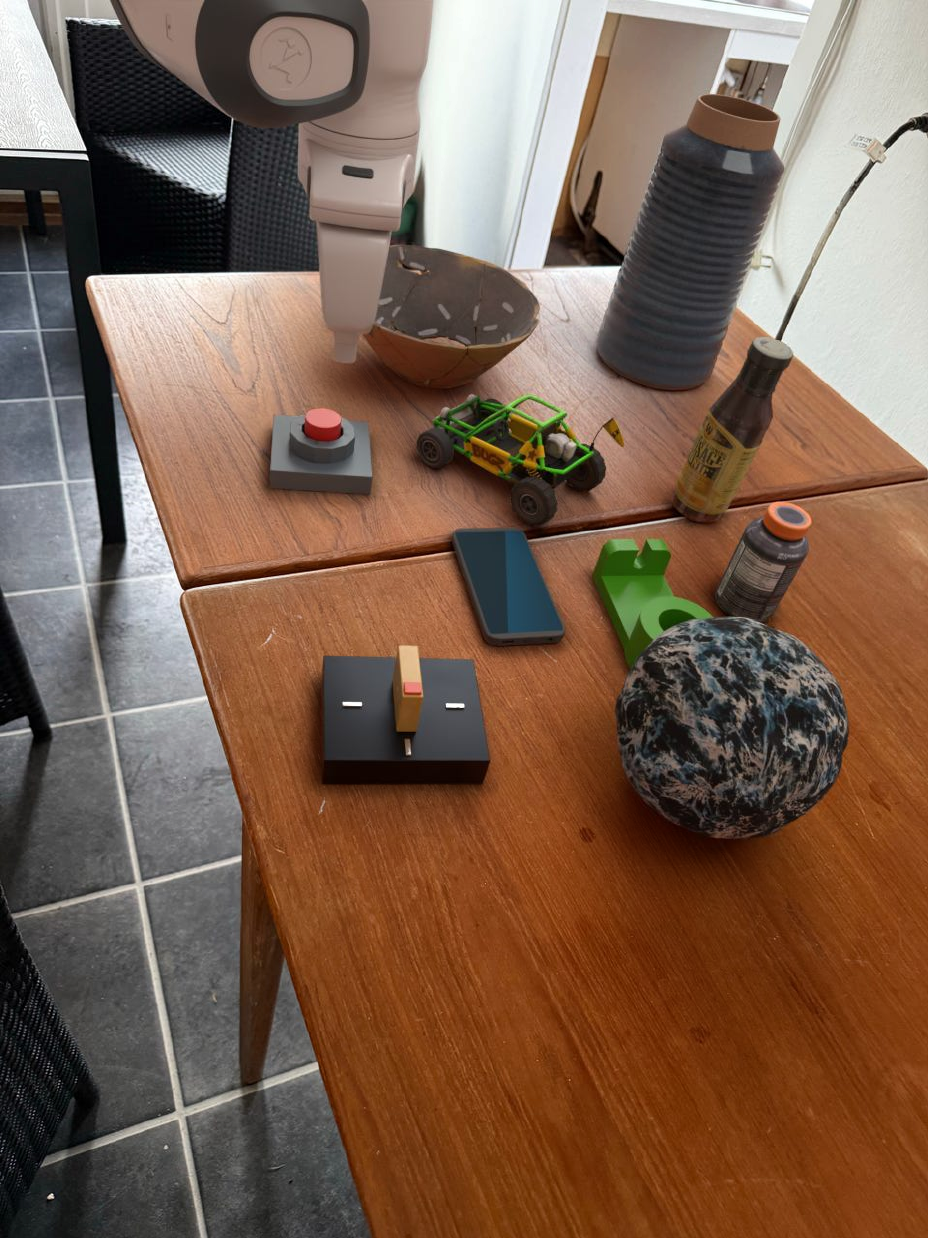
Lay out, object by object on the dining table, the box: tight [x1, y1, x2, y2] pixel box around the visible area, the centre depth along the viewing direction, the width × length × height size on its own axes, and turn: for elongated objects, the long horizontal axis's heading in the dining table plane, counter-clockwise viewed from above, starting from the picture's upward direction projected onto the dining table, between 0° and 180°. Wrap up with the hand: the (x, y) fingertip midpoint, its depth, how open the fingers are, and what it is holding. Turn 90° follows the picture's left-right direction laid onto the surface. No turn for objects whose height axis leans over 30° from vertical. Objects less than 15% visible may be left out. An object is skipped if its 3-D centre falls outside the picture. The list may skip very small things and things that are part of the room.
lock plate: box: [320, 655, 491, 785], centre depth 67 cm, size 12×10×3 cm
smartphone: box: [451, 527, 566, 647], centre depth 82 cm, size 8×15×1 cm, turn 13°
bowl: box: [361, 244, 541, 390], centre depth 106 cm, size 25×25×10 cm
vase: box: [595, 93, 786, 391], centre depth 110 cm, size 16×16×32 cm
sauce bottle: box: [671, 336, 794, 524], centre depth 90 cm, size 6×6×20 cm
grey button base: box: [269, 413, 373, 495], centre depth 90 cm, size 10×10×4 cm
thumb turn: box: [392, 644, 423, 732], centre depth 65 cm, size 5×2×4 cm, turn 7°
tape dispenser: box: [591, 538, 714, 670], centre depth 80 cm, size 15×7×5 cm, turn 11°
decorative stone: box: [614, 615, 850, 840], centre depth 64 cm, size 16×16×15 cm
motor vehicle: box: [415, 393, 625, 528], centre depth 91 cm, size 12×19×11 cm, turn 51°
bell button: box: [304, 407, 342, 442], centre depth 88 cm, size 4×4×2 cm
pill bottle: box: [714, 501, 812, 624], centre depth 82 cm, size 6×6×11 cm
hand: (345, 331), depth 76 cm, fingers open, 8 cm apart
